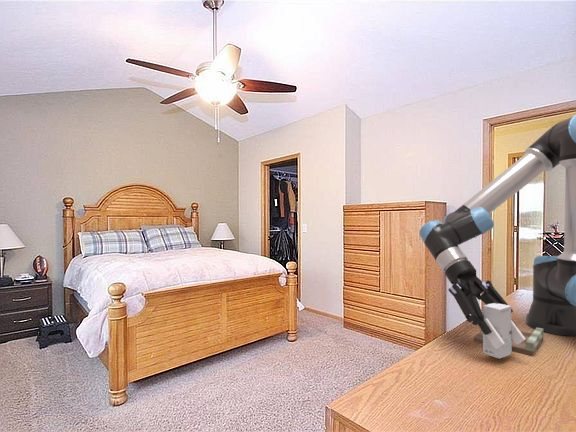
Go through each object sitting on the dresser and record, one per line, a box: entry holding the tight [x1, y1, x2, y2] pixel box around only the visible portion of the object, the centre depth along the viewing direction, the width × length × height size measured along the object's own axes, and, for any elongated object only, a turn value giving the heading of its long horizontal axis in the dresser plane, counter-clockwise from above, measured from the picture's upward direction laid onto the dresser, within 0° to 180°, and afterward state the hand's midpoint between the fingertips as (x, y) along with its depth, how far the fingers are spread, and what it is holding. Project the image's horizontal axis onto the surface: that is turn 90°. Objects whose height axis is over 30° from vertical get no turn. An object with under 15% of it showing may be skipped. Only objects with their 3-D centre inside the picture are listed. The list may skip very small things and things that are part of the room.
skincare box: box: [482, 303, 513, 359], centre depth 88 cm, size 6×4×12 cm
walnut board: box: [473, 328, 544, 357], centre depth 100 cm, size 16×14×3 cm
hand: (510, 343), depth 84 cm, fingers closed on skincare box, 6 cm apart
